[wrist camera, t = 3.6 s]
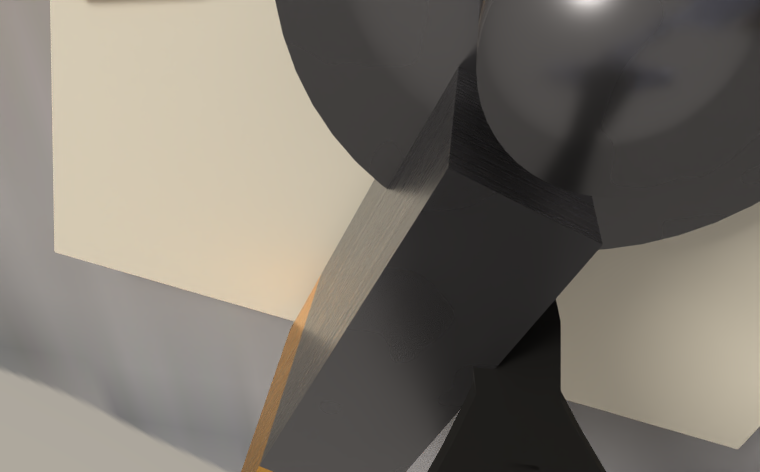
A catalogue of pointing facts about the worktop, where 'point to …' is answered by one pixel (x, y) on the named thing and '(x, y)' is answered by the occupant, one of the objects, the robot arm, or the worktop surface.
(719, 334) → the console plate
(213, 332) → the worktop surface
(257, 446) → the lever door handle
